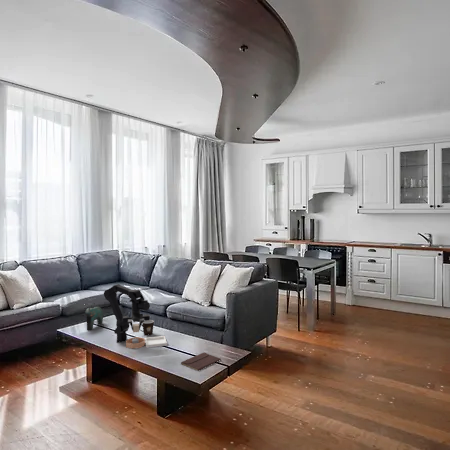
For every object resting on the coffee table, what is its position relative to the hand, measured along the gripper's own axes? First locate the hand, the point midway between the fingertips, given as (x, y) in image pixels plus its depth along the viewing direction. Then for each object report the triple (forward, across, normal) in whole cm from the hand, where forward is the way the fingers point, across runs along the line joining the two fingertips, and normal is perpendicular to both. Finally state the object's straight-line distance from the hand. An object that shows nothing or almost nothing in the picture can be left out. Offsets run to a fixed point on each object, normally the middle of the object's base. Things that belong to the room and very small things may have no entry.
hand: (136, 330), depth 256 cm
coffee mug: (+10, +8, +18) cm, 22 cm away
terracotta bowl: (+10, -1, -3) cm, 10 cm away
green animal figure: (+11, -30, +50) cm, 59 cm away
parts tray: (+10, +13, -3) cm, 17 cm away
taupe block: (+1, 0, 0) cm, 1 cm away
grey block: (+9, -1, -5) cm, 11 cm away
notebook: (+10, +37, -44) cm, 58 cm away
